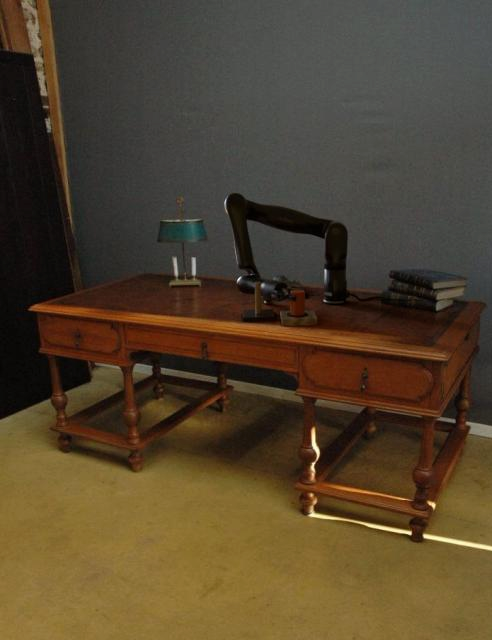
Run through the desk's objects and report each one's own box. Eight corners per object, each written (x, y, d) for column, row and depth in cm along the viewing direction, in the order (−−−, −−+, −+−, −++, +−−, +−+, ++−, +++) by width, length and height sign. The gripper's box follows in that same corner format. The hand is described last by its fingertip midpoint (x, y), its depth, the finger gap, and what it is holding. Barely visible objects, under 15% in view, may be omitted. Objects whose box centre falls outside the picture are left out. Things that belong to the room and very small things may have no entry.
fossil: (279, 277, 312) (297, 263, 300) (291, 297, 313) (309, 285, 300) (253, 289, 302) (270, 276, 290) (265, 310, 303) (282, 298, 290)
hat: (306, 311, 255) (307, 288, 251) (309, 317, 247) (309, 293, 244) (286, 312, 254) (286, 289, 251) (287, 317, 247) (287, 293, 244)
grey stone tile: (313, 316, 258) (313, 310, 257) (317, 325, 246) (317, 318, 245) (280, 317, 258) (280, 311, 257) (282, 326, 245) (282, 319, 245)
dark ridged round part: (275, 306, 274) (275, 287, 271) (258, 305, 276) (257, 287, 273) (278, 302, 281) (278, 283, 278) (261, 301, 282) (261, 283, 279)
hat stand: (272, 312, 264) (272, 279, 259) (274, 320, 253) (274, 285, 248) (243, 313, 264) (241, 280, 259) (243, 321, 253) (242, 286, 248)
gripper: (259, 282, 253) (287, 290, 241) (288, 278, 261) (316, 284, 249) (259, 302, 256) (287, 310, 244) (288, 296, 264) (316, 304, 252)
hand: (302, 297), depth 246 cm, fingers closed on hat, 5 cm apart
